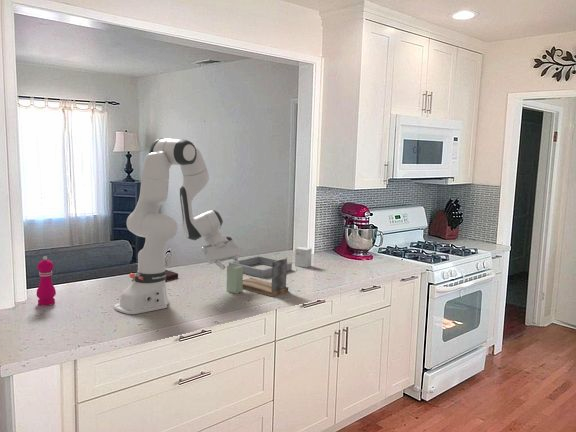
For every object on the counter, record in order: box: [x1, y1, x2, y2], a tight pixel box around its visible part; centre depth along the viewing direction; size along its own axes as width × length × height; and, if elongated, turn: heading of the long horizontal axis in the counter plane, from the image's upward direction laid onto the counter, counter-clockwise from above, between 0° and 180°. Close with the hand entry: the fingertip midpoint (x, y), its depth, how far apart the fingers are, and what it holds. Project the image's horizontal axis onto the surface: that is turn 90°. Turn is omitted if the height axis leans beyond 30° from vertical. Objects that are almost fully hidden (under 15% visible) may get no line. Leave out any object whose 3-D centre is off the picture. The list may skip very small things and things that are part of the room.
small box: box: [294, 246, 312, 269], centre depth 290 cm, size 8×6×10 cm
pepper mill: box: [36, 255, 57, 306], centre depth 205 cm, size 7×7×20 cm
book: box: [131, 269, 179, 282], centre depth 249 cm, size 13×19×3 cm, turn 145°
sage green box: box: [226, 265, 244, 294], centre depth 234 cm, size 4×6×12 cm
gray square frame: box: [228, 255, 293, 279], centre depth 277 cm, size 25×25×4 cm
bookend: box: [243, 258, 289, 297], centre depth 239 cm, size 12×24×16 cm, turn 52°
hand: (231, 267), depth 235 cm, fingers open, 8 cm apart
